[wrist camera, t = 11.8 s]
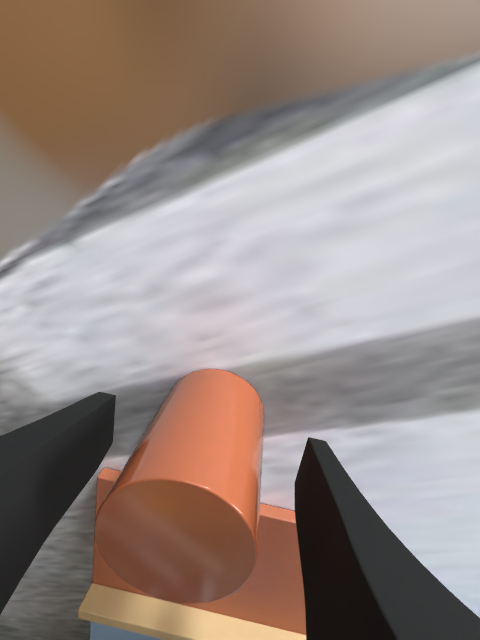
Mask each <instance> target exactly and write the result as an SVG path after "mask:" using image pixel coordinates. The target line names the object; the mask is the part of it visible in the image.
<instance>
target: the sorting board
mask: <svg viewBox="0 0 480 640" xmlns="http://www.w3.org/2000/svg"><path fill="white" fill-rule="evenodd" d="M120 473H121V471H117V470H112V469H108V468H103V470H102V471H101V473H100V474H99V476H98V477H97V493H96V514H95V520H96V515H97V512H98V509H99V508H100V506H101V504H102V502H103V500H104V499H105V497H106V496H107V494H108V492H109V491H110V489H111V487H112V486H113V484H114V482H115V481H116V479H117V478H118V476H119V474H120ZM78 618H79V619H83V620H87V621H91V623H90V640H306V616H305V598H304V587H303V578H302V570H301V562H300V553H299V545H298V536H297V528H296V519H295V511H292V510H288V509H283V508H279V507H274V506H270V505H266V504H261V503H260V518H259V540H258V557H257V562H256V566H255V568H254V571H253V573H252V574H251V576H250V578H249V579H248V580H247V582H246V583H245V584H244V585H243V586H242V587H241V588H239V589H238V590H237V591H235V592H234V593H232V594H230V595H228V596H226V597H224V598H221V599H218V600H215V601H211V602H205V603H178V602H172V601H166V600H163V599H159V598H156V597H153V596H151V595H148V594H146V593H144V592H142V591H140V590H138V589H136V588H134V587H133V586H131V585H129V584H128V583H127V582H125V581H124V580H123V579H121V578H120V577H119V576H118V575H117V574H116V573H115V572H114V571H113V570H112V569H111V568H110V567H109V565H108V564H107V563H106V561H105V560H104V558H103V557H102V555H101V553H100V551H99V548H98V546H97V543H96V538H95V536H94V557H93V578H92V584H91V585H90V587H89V589H88V591H87V593H86V595H85V597H84V599H83V601H82V603H81V605H80V607H79V609H78Z"/></svg>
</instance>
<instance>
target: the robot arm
mask: <svg viewBox="0 0 480 640" xmlns="http://www.w3.org/2000/svg"><path fill="white" fill-rule="evenodd" d="M115 398H116V395H111V394H107V393H102V392H98V393H96V394H93V395H91V396H89V397H87V398H85V399H83V400H80V401H78V402H76V403H74V404H72V405H70V406H68V407H66V408H64V409H62V410H59V411H57V412H55V413H53V414H51V415H49V416H47V417H44V418H42V419H40V420H38V421H35V422H33V423H30V424H28V425H26V426H23V427H21V428H19V429H16V430H14V431H12V432H9V433H7V434H4V435H1V436H0V614H1V612H2V611H3V609H4V607H5V606H6V604H7V602H8V601H9V599H10V597H11V596H12V594H13V592H14V590H15V589H16V587H17V585H18V584H19V582H20V580H21V579H22V577H23V575H24V574H25V572H26V570H27V569H28V567H29V566H30V564H31V562H32V561H33V559H34V558H35V556H36V554H37V553H38V551H39V549H40V548H41V546H42V545H43V543H44V542H45V540H46V539H47V537H48V536H49V534H50V533H51V531H52V530H53V528H54V527H55V526H56V524H57V523H58V522H59V520H60V519H61V518H62V516H63V515H64V514H65V512H66V511H67V510H68V508H69V507H70V506H71V504H72V503H73V501H74V500H75V499H76V497H77V496H78V495H79V493H80V492H81V491H82V489H83V488H84V487H85V485H86V484H87V483H88V481H89V480H90V478H91V477H92V476H93V474H94V473H95V471H96V470H97V469H98V467H99V465H100V464H101V462H102V460H103V459H104V457H105V455H106V453H107V451H108V450H109V448H110V446H111V444H112V442H113V430H114V414H115ZM295 519H296V528H297V536H298V545H299V553H300V562H301V570H302V578H303V587H304V598H305V616H306V640H480V618H479V617H478V616H477V615H475V614H474V613H473V612H472V611H471V610H470V609H469V608H468V607H466V606H465V605H464V604H463V603H462V602H461V601H460V600H459V599H458V598H457V597H455V596H454V595H453V594H452V593H451V592H450V591H449V590H448V589H447V588H446V587H445V586H444V585H443V584H442V583H441V582H440V581H439V580H438V579H437V578H436V577H435V576H434V575H433V574H431V573H430V572H429V571H428V570H427V569H426V568H425V567H424V566H423V565H422V564H421V563H420V562H419V561H418V559H417V558H416V557H415V556H414V555H413V554H412V553H411V552H410V551H409V550H408V549H407V548H406V547H405V546H404V544H403V543H402V542H401V541H400V540H399V539H398V538H397V537H396V536H395V534H394V533H393V532H392V531H391V530H390V529H389V528H388V526H387V525H386V524H385V523H384V522H383V520H382V519H381V518H380V517H379V516H378V514H377V513H376V512H375V510H374V509H373V508H372V507H371V505H370V504H369V503H368V502H367V500H366V499H365V498H364V496H363V495H362V494H361V492H360V491H359V489H358V488H357V487H356V485H355V484H354V483H353V481H352V480H351V478H350V477H349V475H348V474H347V472H346V471H345V470H344V468H343V467H342V465H341V464H340V462H339V461H338V459H337V458H336V456H335V454H334V453H333V451H332V450H331V448H330V447H329V445H328V444H327V442H326V441H323V440H318V439H314V438H309V437H308V440H307V443H306V447H305V450H304V453H303V457H302V460H301V464H300V467H299V470H298V474H297V477H296V480H295Z"/></svg>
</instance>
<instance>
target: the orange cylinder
mask: <svg viewBox="0 0 480 640" xmlns="http://www.w3.org/2000/svg"><path fill="white" fill-rule="evenodd" d="M263 432H264V409H263V405H262V402H261V400H260V397H259V396H258V394H257V392H256V391H255V390H254V389H253V387H252V386H251V385H250V384H249V383H248V382H247V381H245V380H244V379H242V378H241V377H239V376H237V375H235V374H233V373H231V372H228V371H224V370H219V369H203V370H198V371H195V372H192V373H190V374H188V375H186V376H184V377H183V378H181V379H180V380H179V381H178V382H177V383H176V384H175V385H174V386H173V388H172V389H171V391H170V392H169V394H168V396H167V397H166V399H165V401H164V402H163V404H162V406H161V407H160V409H159V410H158V412H157V414H156V415H155V417H154V419H153V420H152V422H151V424H150V425H149V427H148V428H147V430H146V432H145V433H144V435H143V437H142V438H141V440H140V442H139V443H138V445H137V446H136V448H135V450H134V451H133V453H132V455H131V456H130V458H129V460H128V461H127V463H126V464H125V466H124V468H123V469H122V471H121V473H120V474H119V476H118V478H117V479H116V481H115V482H114V484H113V486H112V487H111V489H110V491H109V492H108V494H107V496H106V497H105V499H104V500H103V502H102V504H101V506H100V508H99V509H98V512H97V515H96V520H95V538H96V543H97V546H98V548H99V551H100V553H101V555H102V557H103V558H104V560H105V561H106V563H107V564H108V565H109V567H110V568H111V569H112V570H113V571H114V572H115V573H116V574H117V575H118V576H119V577H120V578H121V579H123V580H124V581H125V582H127V583H128V584H129V585H131V586H133V587H134V588H136V589H138V590H140V591H142V592H144V593H146V594H148V595H151V596H153V597H156V598H159V599H163V600H166V601H172V602H178V603H205V602H211V601H215V600H218V599H221V598H224V597H226V596H228V595H230V594H232V593H234V592H235V591H237V590H238V589H239V588H241V587H242V586H243V585H244V584H245V583H246V582H247V580H248V579H249V578H250V576H251V574H252V573H253V571H254V568H255V566H256V562H257V557H258V540H259V518H260V497H261V475H262V453H263Z"/></svg>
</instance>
